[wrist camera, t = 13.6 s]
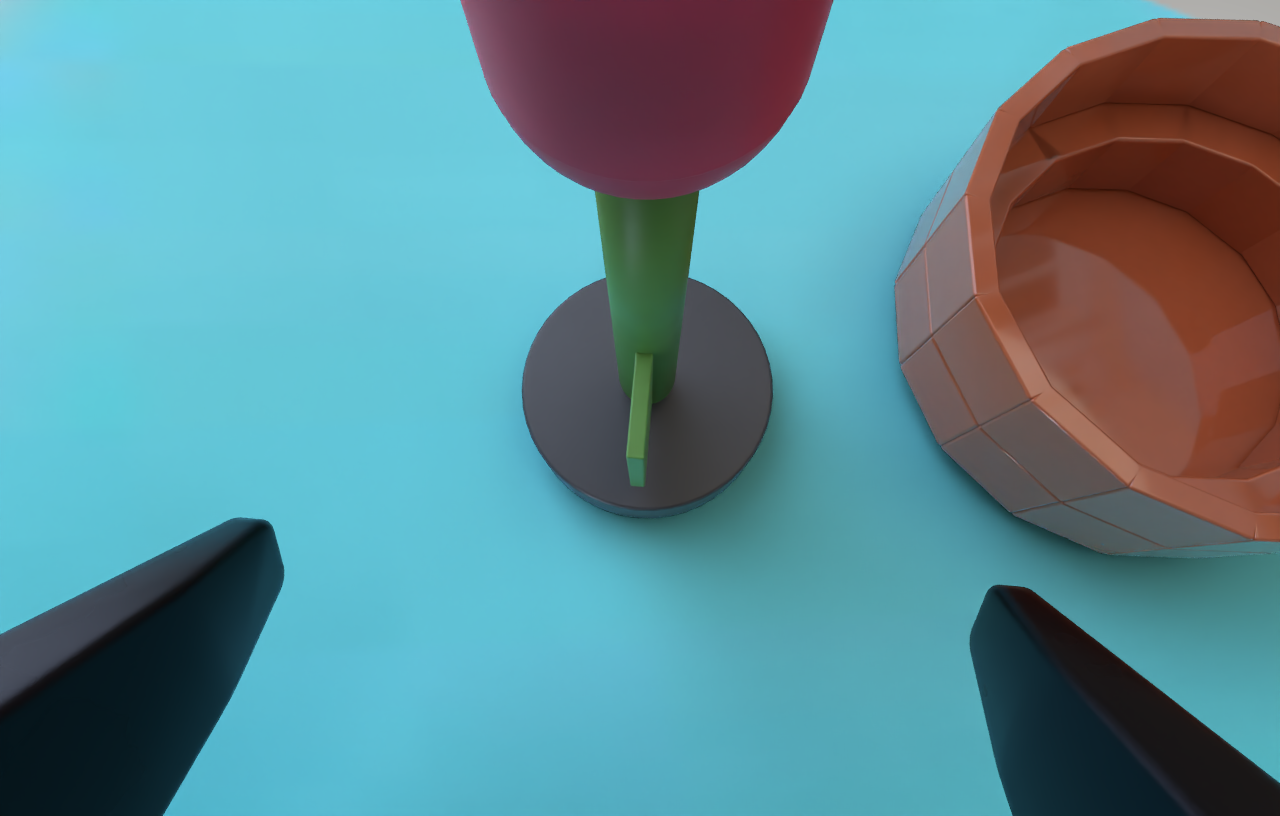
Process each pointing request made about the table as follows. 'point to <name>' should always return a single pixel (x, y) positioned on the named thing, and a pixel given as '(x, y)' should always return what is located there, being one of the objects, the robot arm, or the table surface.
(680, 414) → the tulip
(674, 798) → the table surface
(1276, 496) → the bowl
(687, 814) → the table surface
